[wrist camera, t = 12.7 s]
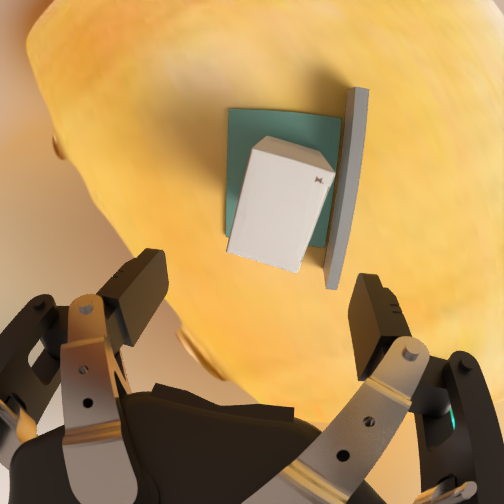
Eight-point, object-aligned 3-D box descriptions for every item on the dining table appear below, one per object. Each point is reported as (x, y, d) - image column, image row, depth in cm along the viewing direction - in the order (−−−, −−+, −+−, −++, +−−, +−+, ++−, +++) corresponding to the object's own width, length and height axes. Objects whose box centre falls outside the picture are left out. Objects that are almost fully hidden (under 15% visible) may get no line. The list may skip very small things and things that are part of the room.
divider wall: (346, 90, 22) (355, 86, 19) (358, 92, 22) (368, 89, 19) (323, 269, 32) (325, 288, 28) (332, 270, 32) (336, 290, 28)
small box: (266, 134, 25) (251, 143, 16) (321, 151, 25) (338, 170, 16) (246, 207, 29) (223, 253, 20) (297, 222, 29) (297, 276, 20)
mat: (229, 109, 25) (228, 108, 25) (340, 118, 24) (341, 118, 23) (226, 235, 31) (225, 237, 31) (324, 245, 30) (324, 247, 30)
